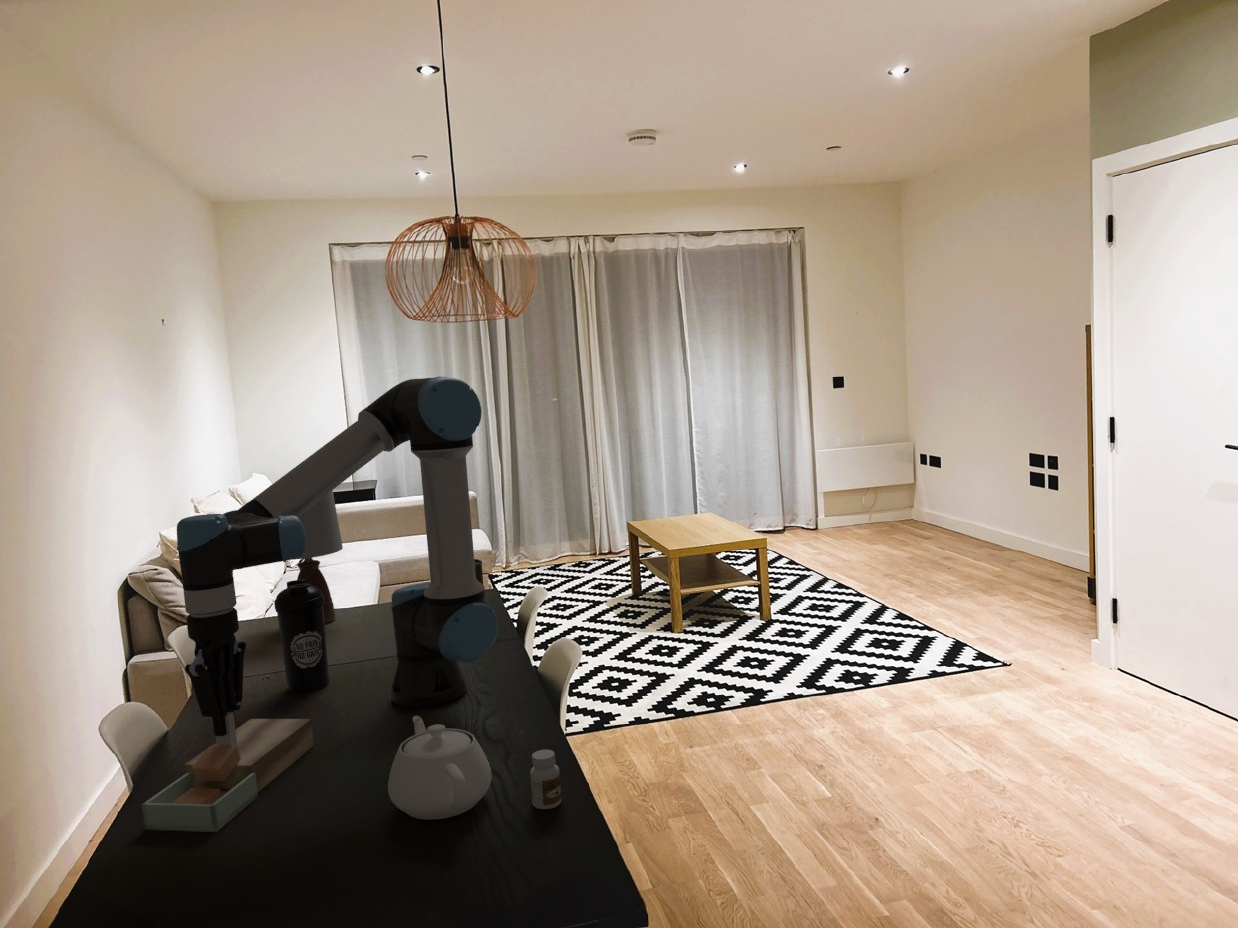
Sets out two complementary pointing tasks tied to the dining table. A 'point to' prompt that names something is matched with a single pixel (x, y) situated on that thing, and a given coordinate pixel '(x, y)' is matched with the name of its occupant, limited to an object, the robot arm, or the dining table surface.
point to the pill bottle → (545, 780)
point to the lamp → (320, 546)
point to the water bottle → (303, 636)
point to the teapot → (438, 772)
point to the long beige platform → (263, 751)
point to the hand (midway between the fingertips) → (227, 751)
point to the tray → (196, 807)
